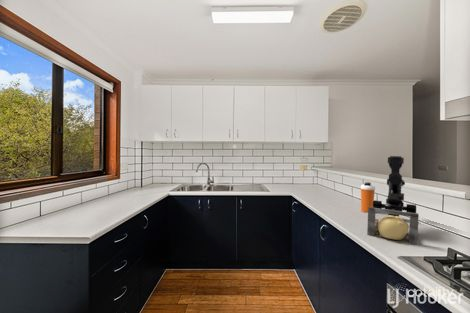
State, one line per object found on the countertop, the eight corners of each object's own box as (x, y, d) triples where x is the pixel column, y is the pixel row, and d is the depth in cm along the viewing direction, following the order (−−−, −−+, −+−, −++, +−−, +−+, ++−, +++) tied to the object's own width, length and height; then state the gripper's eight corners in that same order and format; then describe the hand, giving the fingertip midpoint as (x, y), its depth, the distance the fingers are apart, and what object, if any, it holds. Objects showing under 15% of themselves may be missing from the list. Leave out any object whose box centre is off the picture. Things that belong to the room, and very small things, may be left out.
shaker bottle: (373, 210, 173) (374, 182, 173) (374, 213, 165) (375, 183, 165) (359, 209, 177) (360, 181, 176) (359, 212, 169) (360, 182, 168)
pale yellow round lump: (412, 243, 112) (413, 219, 112) (384, 241, 113) (385, 218, 113) (398, 234, 123) (399, 213, 123) (373, 233, 125) (374, 212, 124)
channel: (372, 225, 138) (373, 201, 138) (416, 232, 127) (417, 206, 127) (367, 234, 122) (368, 207, 122) (417, 244, 111) (418, 214, 110)
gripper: (373, 185, 133) (370, 209, 124) (416, 188, 122) (416, 215, 113) (374, 197, 139) (371, 221, 131) (415, 202, 128) (415, 228, 120)
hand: (392, 221), depth 123 cm, fingers closed
